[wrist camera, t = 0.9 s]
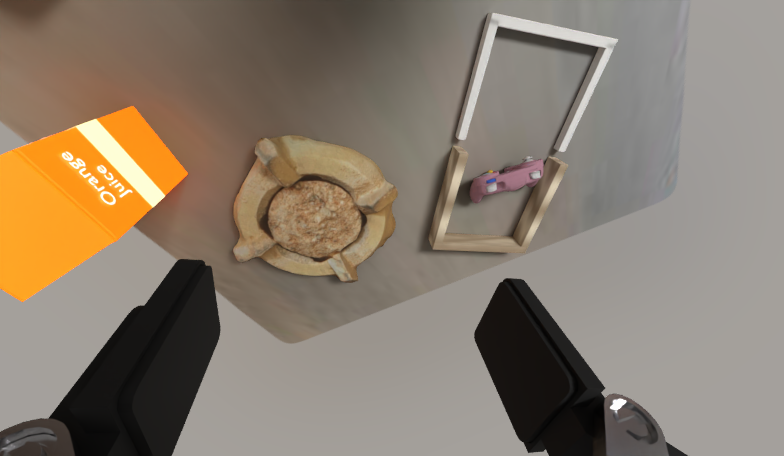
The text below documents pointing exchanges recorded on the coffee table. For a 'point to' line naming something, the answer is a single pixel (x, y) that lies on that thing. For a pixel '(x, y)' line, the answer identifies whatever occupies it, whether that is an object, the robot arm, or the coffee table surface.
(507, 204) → the coffee table surface
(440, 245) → the wooden u-shaped frame
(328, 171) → the ashtray
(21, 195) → the orange juice
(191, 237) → the coffee table surface
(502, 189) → the video game controller
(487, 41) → the white bay
